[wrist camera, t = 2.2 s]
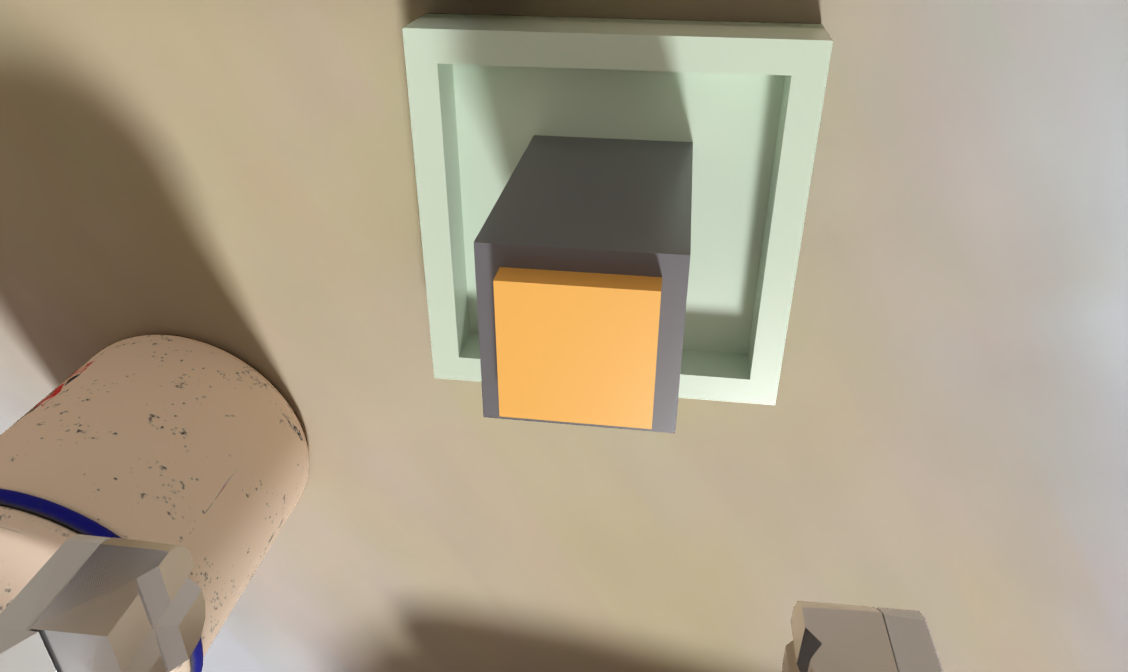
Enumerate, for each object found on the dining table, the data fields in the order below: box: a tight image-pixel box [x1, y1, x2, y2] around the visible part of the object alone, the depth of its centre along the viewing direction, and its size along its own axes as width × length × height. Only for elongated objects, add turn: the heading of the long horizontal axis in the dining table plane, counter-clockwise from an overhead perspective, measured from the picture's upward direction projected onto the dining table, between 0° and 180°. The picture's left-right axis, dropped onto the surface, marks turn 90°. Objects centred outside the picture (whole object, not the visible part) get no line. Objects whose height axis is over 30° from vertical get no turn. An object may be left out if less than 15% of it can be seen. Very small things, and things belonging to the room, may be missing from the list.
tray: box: [402, 13, 833, 405], centre depth 23 cm, size 10×10×2 cm
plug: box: [474, 135, 693, 433], centre depth 20 cm, size 4×4×8 cm
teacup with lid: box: [0, 335, 309, 672], centre depth 26 cm, size 12×9×12 cm
